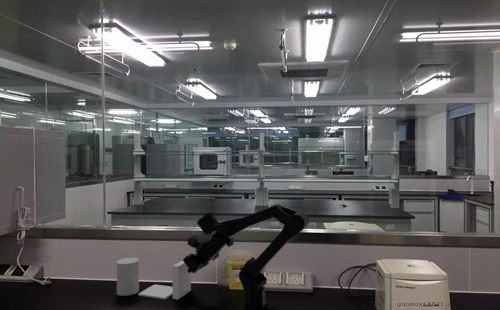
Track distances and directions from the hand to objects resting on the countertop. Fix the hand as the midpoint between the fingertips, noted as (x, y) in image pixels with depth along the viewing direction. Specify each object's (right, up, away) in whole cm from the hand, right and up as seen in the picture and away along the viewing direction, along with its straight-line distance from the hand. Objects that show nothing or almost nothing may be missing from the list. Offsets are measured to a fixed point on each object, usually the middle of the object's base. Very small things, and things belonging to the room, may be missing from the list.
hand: (188, 271), depth 121 cm
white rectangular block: (-3, -9, +1) cm, 9 cm away
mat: (-12, -9, +3) cm, 15 cm away
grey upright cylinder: (-25, -10, +4) cm, 27 cm away
